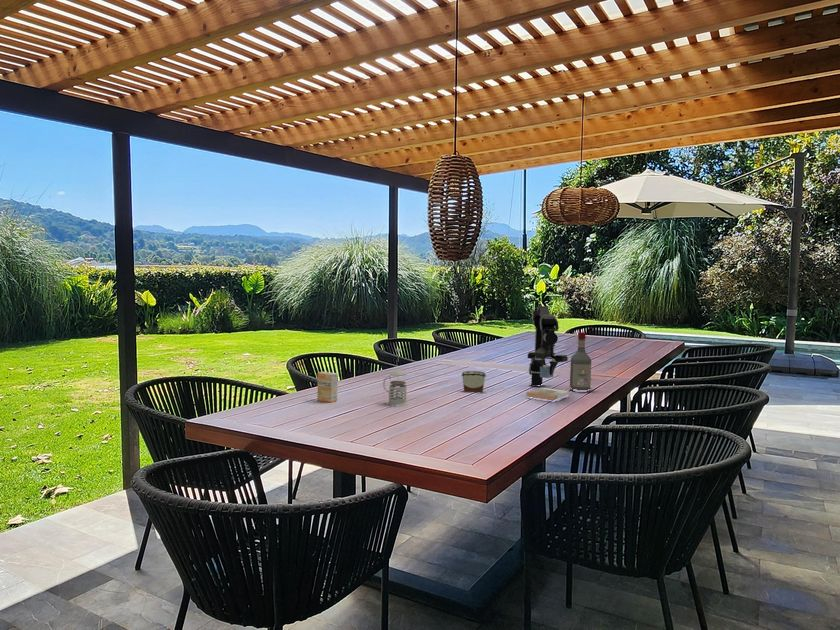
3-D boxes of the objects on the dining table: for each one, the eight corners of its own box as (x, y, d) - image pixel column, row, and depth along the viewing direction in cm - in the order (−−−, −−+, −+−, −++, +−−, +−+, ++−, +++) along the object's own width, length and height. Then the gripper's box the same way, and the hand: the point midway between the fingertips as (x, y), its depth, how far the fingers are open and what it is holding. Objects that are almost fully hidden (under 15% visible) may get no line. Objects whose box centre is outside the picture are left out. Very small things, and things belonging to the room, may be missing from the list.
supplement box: (316, 400, 270) (316, 372, 269) (323, 399, 274) (323, 371, 273) (331, 403, 266) (331, 374, 265) (337, 401, 270) (337, 372, 269)
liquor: (591, 392, 297) (593, 333, 295) (573, 392, 297) (575, 333, 295) (586, 389, 306) (588, 331, 304) (568, 389, 306) (570, 331, 304)
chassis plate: (542, 393, 294) (542, 387, 294) (568, 397, 285) (568, 391, 285) (526, 398, 282) (526, 392, 281) (553, 402, 273) (553, 396, 272)
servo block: (547, 375, 287) (547, 363, 287) (554, 376, 285) (555, 364, 284) (538, 377, 281) (538, 365, 280) (545, 378, 278) (546, 366, 278)
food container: (485, 390, 299) (486, 371, 298) (485, 393, 293) (486, 373, 292) (461, 389, 300) (461, 370, 299) (460, 392, 294) (461, 372, 293)
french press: (405, 406, 261) (406, 350, 259) (380, 404, 263) (381, 349, 261) (410, 401, 271) (411, 347, 269) (386, 400, 273) (386, 346, 271)
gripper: (522, 341, 282) (521, 374, 283) (557, 345, 270) (556, 379, 271) (533, 340, 290) (532, 371, 291) (568, 343, 278) (567, 376, 279)
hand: (546, 374), depth 283 cm, fingers closed on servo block, 4 cm apart
